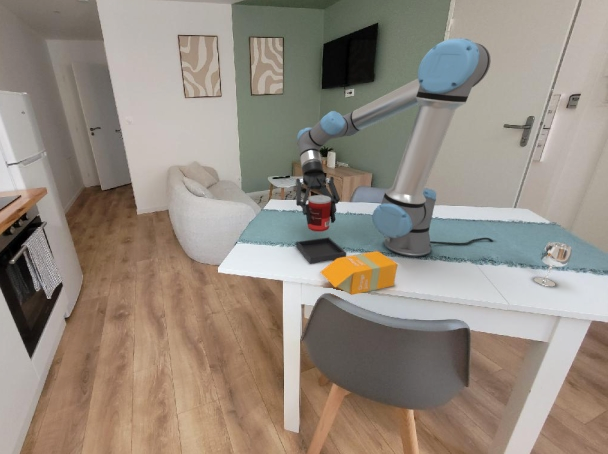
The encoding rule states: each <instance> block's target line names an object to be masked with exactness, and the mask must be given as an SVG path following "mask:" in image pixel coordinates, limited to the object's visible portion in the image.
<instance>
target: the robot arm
mask: <svg viewBox="0 0 608 454" xmlns="http://www.w3.org/2000/svg"><path fill="white" fill-rule="evenodd" d="M490 68H491V54H490V52H489V50H488V49H487V48H486V47H485V46H484V45H483V44H481V43H479V42H478V43H477V42H474V41H472V40H470V39H468V38H461V37H460V38H449V39H446V40H443V41H441V42H439V43H437V44H436V45H434V46H433V47H432V48H431V49H429V50H428V51H427V52H426V54H425V55H424V56H423V57H422V60H421V61H420V64H419V65H418V69H417V78H415V79H414V80H412V81H410V82H408V83H406V84H404V85H402V86H400V87H398V88H396V89H394V90H392V91H390V92H388V93H386V94H384V95H382V96H380V97H378V98H376V99H375V100H372V101H370V102H369V103H366V104H364V105H362V106H360V107H358V108H357V109H355V110H353V111H351V112H349V113H347V114H344V115H342V114H341V113H339V112H338V111H335V110H331V111H329V112H328V113H327V114H325V115H324V116H323V117H321V119H320V120H319V121H318V122H317V123H316V124H314V125H313V127H304V128H303V129H300V130H299V132H298V133H297V136H296V138H297V143H296V144H297V147H298V153H299V158H300V165H301V173H302V178H296V179H295V182H294V184H295V187H296V200H295V201H296V203H295V205H296V206H297V207H300V208H301V210H302V215H303V216H305V218H306V224H307V225H308V224H310V222H311V217H310V211H309V205H308V200H309V195H310V191H311V190H318V191H320V192H321V194H322V195H324V196H328V197H330V198H331V210H330V224H334V223H335V222H336V215H335V214H336V213H337V204H339V202H340V200H341V197H340V195H339V192H338V190H337V188H336V185H335V183H334V181H335V180H334V179H335V178H334V176H330V177H326V176H325V172H324V167H323V161H322V156H321V151H320V149H321V148H322V147H323V146H324V145H325V144H326V143H328V142H329V141H330V140H332V139H338V138H343V137H350V136H353V135H356V134H357V133H359V131H362V130H364V129H367V128H368V127H371V126H374V125H376V124H379V123H380V122H383V121H385V120H387V119H391V118H392V117H394V116H396V115H399V114H402V113H403V112H406V111H408V110H410V109H413V108H415V107H417V106H419V107H418V109H417V112H416V114H415V118H414V121H413V123H412V127H411V130H410V132H409V136H408V139H407V142H406V144H405V147H404V151H403V154H402V157H401V159H400V162H399V165H398V168H397V171H396V174H395V178H394V180H393V184H392V186H390V187H388V188H386V189H385V191H384V193H383V197H382V200H381V203H380V204H379V205H377V206H376V207H375V209H374V210H373V212H372V216H371V217H372V219H371V220H372V223H373V226H374V227H375V230H376V231H377V232H379V233H380V234H381V235H382V236H384V238H385V239H384V245H383V246H384V247H385V249H386V250H388V251H389V252H391V253H392V254H395V255H397V256H403V257H408V258H423V257H427V256H428V255H430V254H431V252H432V244H437V245H455V246H464V245H469V244H471V243H474V242H477V241H478V242H479V241H484V240H485V241H486V240H487V241H490V242H494V240H493V239H492V238H490V237H480V238H479V237H478V238H474V239H471V240H468V241H466V242H452V241H451V242H449V241H448V242H447V241H434V240H433V241H432V240H431V237H430V227H431V224H432V223H431V222H432V218H433V214H434V210H435V205H436V202H437V192H436V191H435V190H434V189H432V188H427V187H426V186H427V184H428V181H429V178H430V176H431V173H432V171H433V168H434V165H435V163H436V161H437V159H438V156H439V154H440V151H441V148H442V146H443V143H444V141H445V138H446V135H447V134H448V131H449V128H450V126H451V123H452V120H453V118H454V115H455V113H456V110H457V109H458V108H460V107H462V106H463V105H465V104H466V103H467V101H468V98H469V96H470V93H471V91H472V89H473V88H474V87H476V86H477V85H479V83H481V81H482V80H483V79H484V78H485V76H487V74H488V73H489V69H490ZM325 182H326V184H325ZM303 184H304V185H305V186H306V190H305V193H304V196H303V199H302V185H303ZM326 185H328V188H329V189H328V188H327V187H326Z"/></svg>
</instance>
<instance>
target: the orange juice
mask: <svg viewBox="0 0 608 454" xmlns="http://www.w3.org/2000/svg"><path fill="white" fill-rule="evenodd" d="M397 270H398V263H397V262H396V261H394V260H393V259H391V258H389V257H388V256H387V255H385V254H383V253H381V252H380V251H379V250H376V251H370V252H364V253H358V254H354V255H348V256H347V255H346V257H342V258H337V259H336V260H332V261H331V262H330V263H329V264H328V265H327V266H326V267H324V268H323V269H322V270H320V272H319V273H320V274H321V275H322V276H323V277H324V278H325V279H326V280H327V281H328V282H329V283H330V284H331V285H332V286H333V287H334V288H335V289H339V290H340V291H343V292H344V293H347V294H349V295H350V296H353V295H357V294H362V293H367V292H372V291H377V290H380V289H385V288H389V287H394V286H395V280H396V275H397Z"/></svg>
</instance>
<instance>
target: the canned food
mask: <svg viewBox="0 0 608 454" xmlns="http://www.w3.org/2000/svg"><path fill="white" fill-rule="evenodd" d="M307 204H308V205H309V211H310V217H311V222H310V224H307V228H308V229H309V230H310V231H313V232H326V231H328V230H329V228H330V224H331V218H330V210H331V198H330V197H328V196H324V195H323V194H316V195H311V196H308V199H307Z"/></svg>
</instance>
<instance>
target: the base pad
mask: <svg viewBox="0 0 608 454" xmlns="http://www.w3.org/2000/svg"><path fill="white" fill-rule="evenodd" d="M295 248H296V249H297V250H298V251H299V252H300V253H301V255H302V257H304V258H305V259H306V261H307V262H308V263H309V264H310V265H311V264H318V263H324V262H333V261H334V260H336V259H337V258H342V257H347V251H345V250H344V249H343V248H342V247H341V246H339V245H338V244H337V243H336V242H335V241H334V240H333V239H331V238H330V237H329V236H328V237H320V238H315V239H313V238H312V239H306V240H301V241H300V240H299V241H296V242H295Z"/></svg>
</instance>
